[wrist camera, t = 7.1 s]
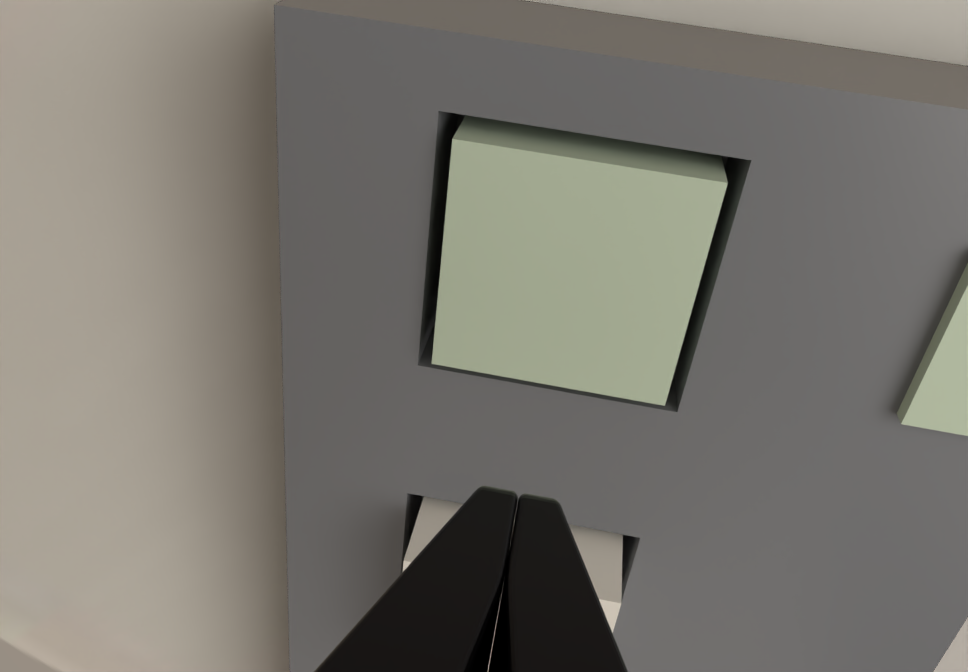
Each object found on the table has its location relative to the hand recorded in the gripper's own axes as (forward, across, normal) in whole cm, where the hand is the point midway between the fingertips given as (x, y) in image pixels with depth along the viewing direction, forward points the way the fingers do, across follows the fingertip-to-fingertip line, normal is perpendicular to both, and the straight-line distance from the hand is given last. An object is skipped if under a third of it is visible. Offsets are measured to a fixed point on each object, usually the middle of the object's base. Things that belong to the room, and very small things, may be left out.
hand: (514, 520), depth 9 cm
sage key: (+8, 0, 0) cm, 8 cm away
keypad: (+9, -2, +8) cm, 12 cm away
